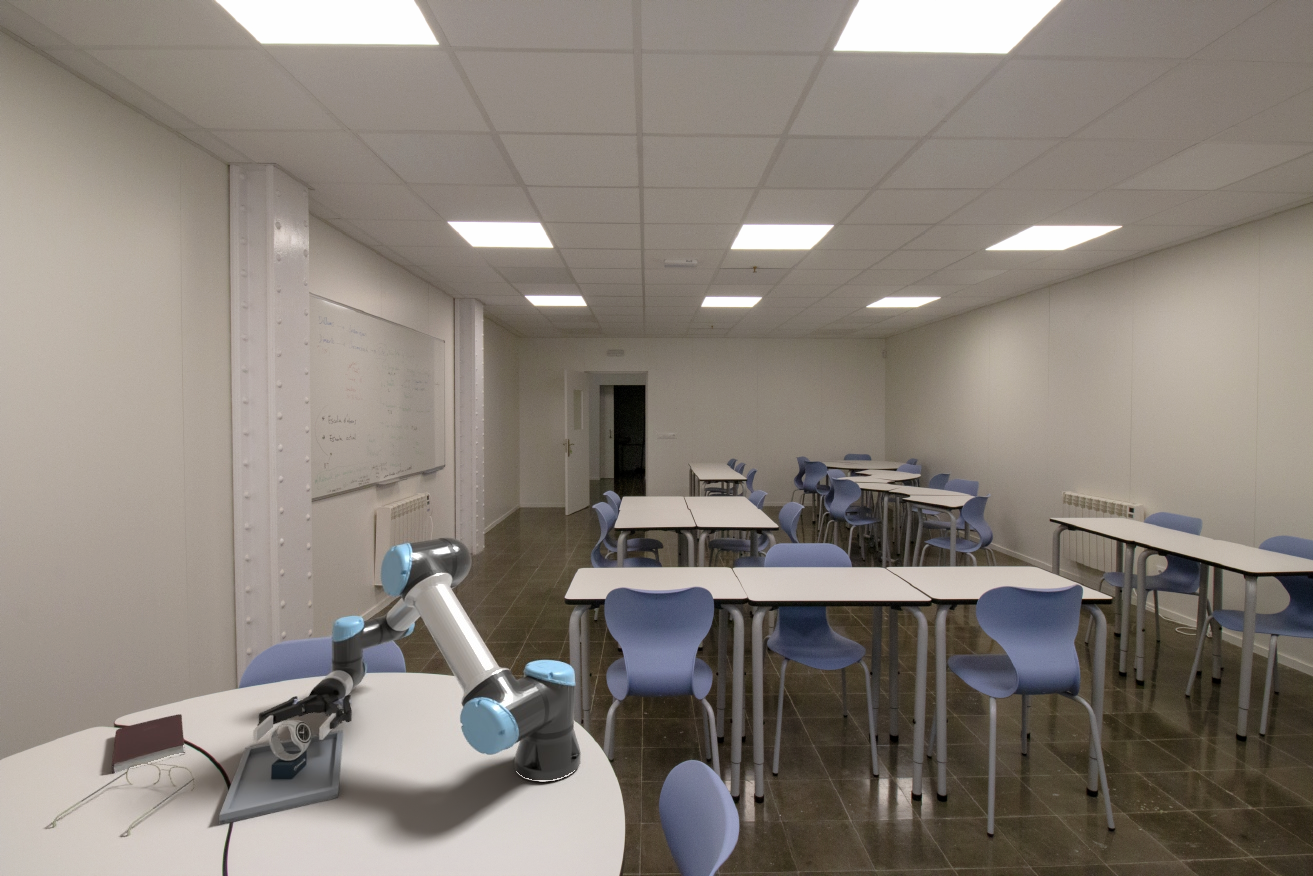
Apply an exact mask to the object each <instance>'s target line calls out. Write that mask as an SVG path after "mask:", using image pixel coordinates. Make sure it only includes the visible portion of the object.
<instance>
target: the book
mask: <svg viewBox="0 0 1313 876" xmlns="http://www.w3.org/2000/svg"><path fill="white" fill-rule="evenodd" d="M114 738H115V739H114V745H113V754H112V761H111V772H112V774H116V773H118V772H123V771H126V770H125V769H128V768H129V767H130V766H132V765H133V766H132V767H134V766H137V765H141V764H138V763H148V762H151V761H154V760H158V759H161V758H164V757H167V756H170V755H174V754H179V753H185V754H186V751H185V752H184V748H185V737H184V728H183V715H182V714H180V713H179V714H174V715H169V716H165V717H160V718H156V719H151V720H147V721H142V722H139V723H136V724H135V723H134V724H131V725H128V726H124V727H120V728H118V729H116V731H115V736H114ZM183 745H184V747H183ZM134 764H137V765H134ZM122 770H123V771H122ZM115 772H116V773H115Z"/></svg>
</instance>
